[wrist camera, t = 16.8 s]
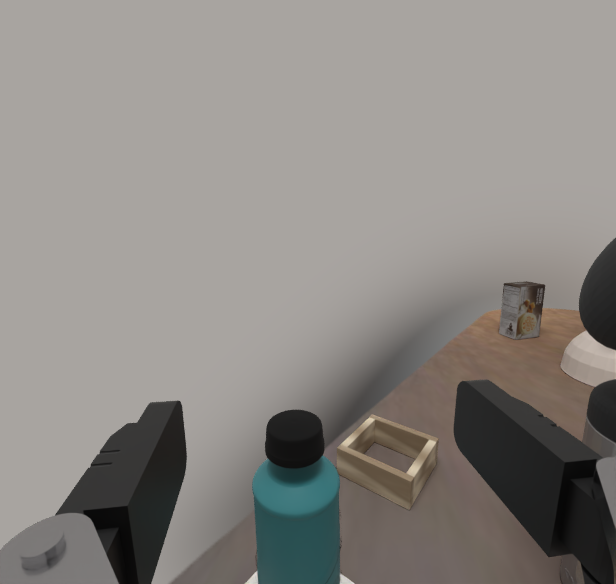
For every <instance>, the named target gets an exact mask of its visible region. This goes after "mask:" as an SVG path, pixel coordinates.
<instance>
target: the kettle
mask: <svg viewBox="0 0 616 584" xmlns="http://www.w3.org/2000/svg"><path fill="white" fill-rule="evenodd" d="M560 365H561V369H562V370H563V371H564V372H565V373H566V374H568V375H569V376H571V377H572V378H574V379H576V380H578V381H580V382H582V383H585V384H587V385H590V386H593V387H596V386H597V385H599V384H601V383H603V382H606V381H609V380H614V379H616V350H613V349H610V348H607V347H605V346H604V345H602V344H600V343H599V342H597V341H596V340H595V339H594V338H593V337H592V336H590V335H589V333H588V332H587V331H585V332H583V333H581V334H580V335H578V336H577V337H575V338H574V339H573V340H572V341H571V342H570V344H569V345H568V346H567V348H566V349H565V352H564V355H563V359H562V362H561V364H560Z"/></svg>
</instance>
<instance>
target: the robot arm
mask: <svg viewBox="0 0 616 584" xmlns="http://www.w3.org/2000/svg"><path fill="white" fill-rule="evenodd" d="M579 311H580V317H581V320H582V322H583V325H584V327H585V329H586V330H587V332H588V333H589V335H590V336H592V337H593V338H594V339H595V340H596V341H597V342H599V343H600V344H602V345H604V346H605V347H607V348H610V349H613V350H616V238H615V239H614V240H613V241H612V242H610V244H609V245H608V246H607V247H606V248H605V249H604V250H603V251H602V252H601V254H600V255H599V256H598V257H597V259H596V260H595V261H594V263H593V265H592V266H591V268H590V269H589V272H588V274H587V276H586V278H585V280H584V283H583V285H582V289H581V293H580V298H579ZM454 437H455V441H456V443H457V446H458V448H459V450H460V451H461V452H462V454H463V455H464V456H465V457H466V458H467V460H468V461H469V462H470V463H471V464H472V466H473V467H474V468H475V469H476V470H477V472H478V473H479V474H480V475H481V476H482V478H483V479H484V480H485V481H486V482H487V484H488V485H489V486H490V487H491V488H492V490H493V491H494V492H495V493H496V494H497V496H498V497H499V498H500V499H501V500H502V502H503V503H504V504H505V505H506V506H507V508H508V509H509V510H510V511H511V512H512V514H513V515H514V516H515V517H516V518H517V520H518V521H519V522H520V523H521V524H522V526H523V527H524V528H525V529H526V530H527V532H528V533H529V534H530V535H531V536H532V538H533V539H534V540H535V541H536V542H537V544H538V545H539V546H540V547H541V548H542V550H543V551H544V552H545V553H546V554H547V556H548V557H553V556H560V555H562V561H561V566H560V577H561V581H562V584H616V379H614V380H609V381H606V382H603V383H601V384H599V385H597V386H596V387H595V388H594V389H593V391H592V392H591V395H590V398H589V403H588V409H587V416H586V422H585V428H584V434H583V439H582V442H581V441H579V440H578V439H577V438H575V437H574V436H572V435H571V434H570V433H568V432H567V431H565V430H564V429H562V428H561V427H557V425H556V424H555V423H554V422H553V421H551V420H550V419H548V418H547V417H544V416H543V414H541V413H540V412H539V411H537V410H536V409H534V408H533V407H532V406H530V405H529V404H527V403H525V402H523V401H520V400H518V399H516V398H514V397H511V396H510V395H509V394H507V393H506V392H505V391H503V390H502V389H500V388H499V387H498V386H496V385H495V384H494V383H492V382H491V381H489V380H473V381H462V382H460V383H459V385H458V388H457V397H456V408H455V419H454ZM186 454H187V453H186V442H185V431H184V422H183V411H182V405H181V402H180V401H166V402H152V403H150V404H149V405H148V406H147V408H146V409H145V411H144V413H143V414H142V416H141V417H140V419H139V421H138V422H137V423H128V424H126V425H125V426H124V427H122V428H121V429H120V430H118V431H117V432H116V433H114V434H113V435H112V436H110V438H109V439H108V440H107V442H106V443H105V445H104V446H103V448H102V449H101V450H100V454H99V455H97V456H96V458H95V459H94V460H93V462H92V463H91V467H90V468H88V469H87V470H86V472H85V473H84V475H83V476H82V477H81V479H80V480H79V482H78V483H77V485H76V486H75V487H74V489H73V490H72V492H71V493H70V495H69V496H68V498H67V499H66V500H65V502H64V503H63V505H62V506H61V507H60V509H59V510H58V512H57V513H56V515H55V516H53V517H49V518H47V519H44V520H42V521H40V522H37V523H35V524H34V525H32V526H30V527H28V528H27V529H25V530H23V531H22V532H20V533H19V534H18V535H16V536H15V537H14V538H12V539H11V540H10V541H9V542H8V543H7V544H6V545H5V546H4V547H3V548H2V549H1V550H0V584H151V582H152V579H153V576H154V573H155V569H156V566H157V563H158V560H159V556H160V553H161V550H162V547H163V544H164V540H165V537H166V534H167V530H168V528H169V524H170V521H171V518H172V515H173V511H174V508H175V505H176V501H177V498H178V495H179V491H180V489H181V485H182V482H183V479H184V475H185V470H186V460H187V455H186Z"/></svg>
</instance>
